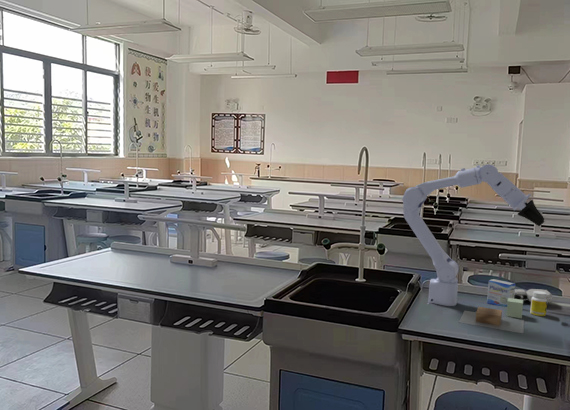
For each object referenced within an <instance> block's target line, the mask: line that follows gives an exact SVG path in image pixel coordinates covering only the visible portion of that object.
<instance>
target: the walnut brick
mask: <svg viewBox="0 0 570 410" xmlns="http://www.w3.org/2000/svg"><path fill="white" fill-rule="evenodd" d="M475 312H476V322H480V323H486V324H492V325H498V326H500V323H501V317H503V316H502V315H503V309H496V308H489V307H484V306H478V307H477V310H476V311H475Z"/></svg>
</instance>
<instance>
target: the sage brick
mask: <svg viewBox="0 0 570 410" xmlns="http://www.w3.org/2000/svg"><path fill="white" fill-rule="evenodd" d="M523 307H524V301H523V300H520V299H513V298H508V302H507V307H506V314H505V315H506V316H505V317H509V318H515V319H522V318H523Z"/></svg>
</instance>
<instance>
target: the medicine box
mask: <svg viewBox="0 0 570 410" xmlns="http://www.w3.org/2000/svg"><path fill="white" fill-rule="evenodd" d="M515 289H516V283H515V282H514V283H513V282H509V281H505V280H500V279H495V278H493V279H489V280H488V287H487V298H486V303H487V304H488V305H492V306H497V307H504V308H507V302H508V298H513V299H514V294H515Z"/></svg>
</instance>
